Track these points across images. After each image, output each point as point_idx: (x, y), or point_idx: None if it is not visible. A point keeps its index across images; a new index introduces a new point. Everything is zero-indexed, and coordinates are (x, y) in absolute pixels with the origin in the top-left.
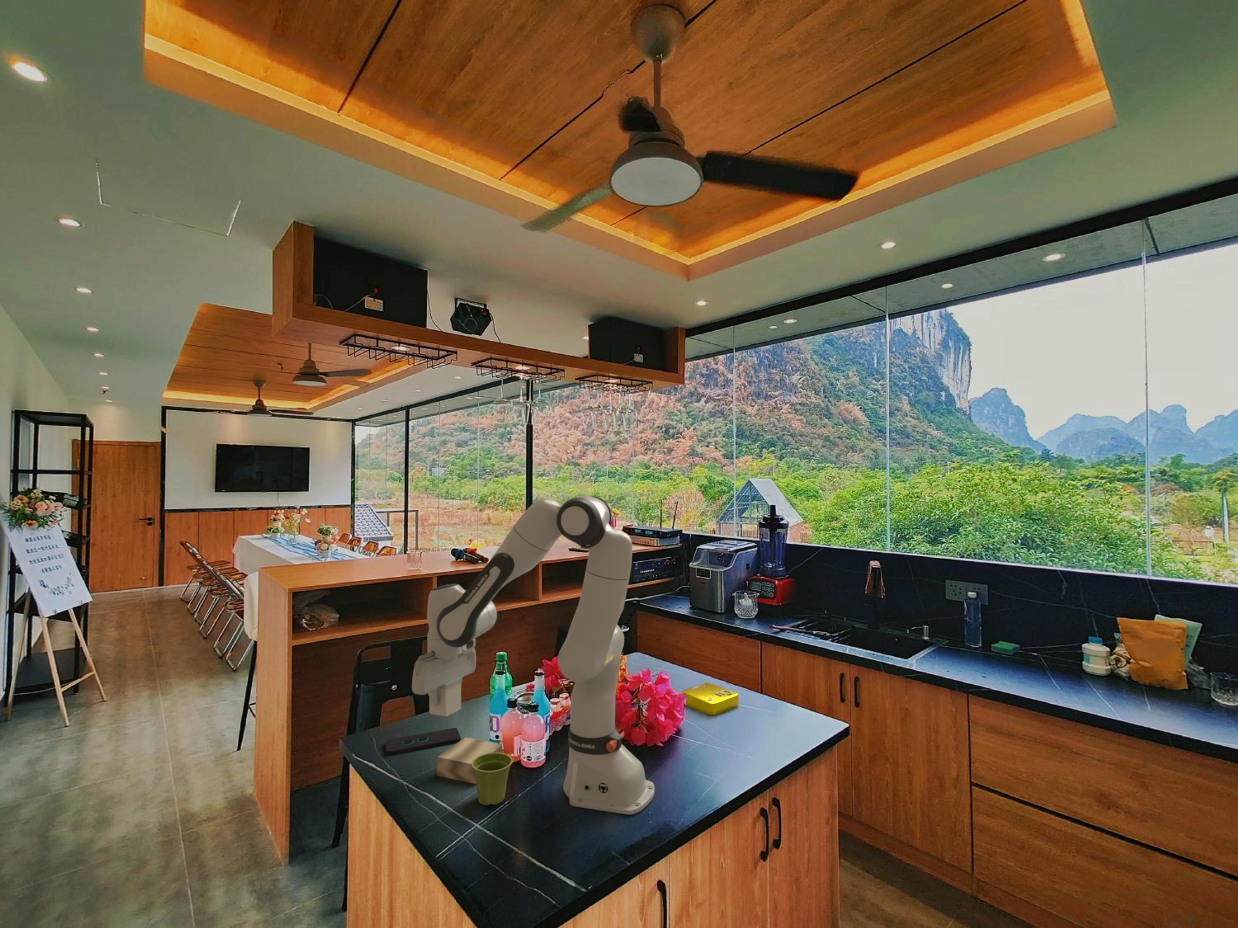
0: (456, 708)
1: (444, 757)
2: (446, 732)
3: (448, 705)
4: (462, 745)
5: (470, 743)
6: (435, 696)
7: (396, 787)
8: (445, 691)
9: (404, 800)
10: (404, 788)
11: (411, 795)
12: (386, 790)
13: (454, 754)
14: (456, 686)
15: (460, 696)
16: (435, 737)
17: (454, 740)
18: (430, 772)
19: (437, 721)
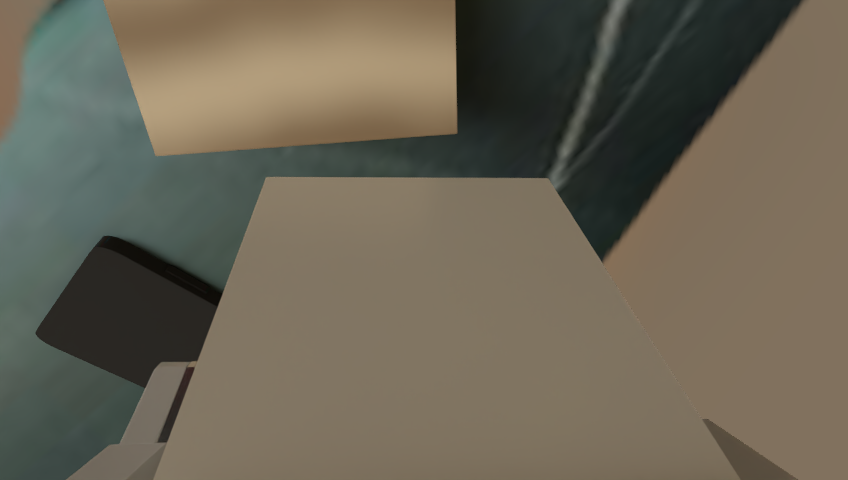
0: (358, 193)
1: (447, 85)
2: (109, 339)
3: (540, 244)
4: (256, 91)
5: (200, 59)
6: (762, 465)
7: (597, 190)
8: (713, 454)
9: (690, 76)
10: (596, 153)
11: (644, 78)
12: (628, 208)
13: (386, 51)
14: (336, 466)
15: (247, 275)
16: (183, 344)
17: (135, 257)
18: (434, 149)
19: (49, 441)
